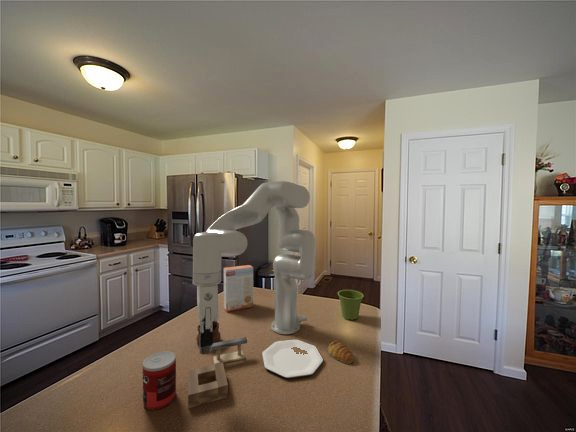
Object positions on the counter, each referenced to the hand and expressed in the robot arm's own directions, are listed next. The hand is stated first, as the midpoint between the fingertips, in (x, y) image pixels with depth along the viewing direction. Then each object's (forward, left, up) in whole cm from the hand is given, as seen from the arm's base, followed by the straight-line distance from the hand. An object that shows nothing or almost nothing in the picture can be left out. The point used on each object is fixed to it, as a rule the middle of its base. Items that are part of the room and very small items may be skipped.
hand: (205, 341), depth 68 cm
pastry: (-45, 0, -15) cm, 47 cm away
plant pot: (-66, -23, -14) cm, 72 cm away
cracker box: (-19, -52, -14) cm, 58 cm away
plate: (-28, -4, -15) cm, 32 cm away
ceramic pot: (-3, -25, -15) cm, 29 cm away
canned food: (+12, -1, -14) cm, 19 cm away
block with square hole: (0, 0, -14) cm, 14 cm away
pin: (0, 0, -3) cm, 3 cm away
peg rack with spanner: (-8, -12, -14) cm, 21 cm away
